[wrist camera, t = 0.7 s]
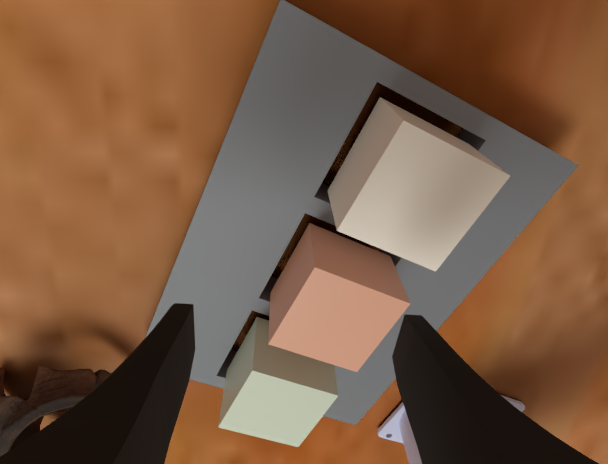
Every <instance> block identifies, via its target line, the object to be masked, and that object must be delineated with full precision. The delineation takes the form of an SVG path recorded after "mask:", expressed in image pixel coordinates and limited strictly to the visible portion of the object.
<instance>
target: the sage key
mask: <svg viewBox="0 0 608 464" xmlns="http://www.w3.org/2000/svg"><path fill="white" fill-rule="evenodd" d="M268 339H269V321H268V320H265V319H262V318H259V317H256V319H255V321H254V323H253V325H252V326H251V328H250V330H249V332H248V333H247V335H246V337H245V339H244V341H243V342H242V344H241V346H240V348H239V350H238V351H237V353H236V355H235V357H234V358H233V360H232V362H231V364H230V366H229V367H228V369H227V373H226V379H225V386H224V392H223V399H222V405H221V412H220V419H219V425H218V427H219V428H223V429H227V430H231V431H235V432H239V433H243V434H247V435H251V436H255V437H259V438H263V439H267V440H272V441H276V442H280V443H284V444H288V445H292V446H296V447H299V446H300V444H301V443H302V442H303V440H304V439H305V438H306V437H307V435H308V434H309V433H310V432H311V430H312V429H313V428H314V426H315V425H316V424H317V423H318V421H319V420H320V419H321V418H322V416H323V415H324V414H325V412H326V411H327V410H328V409H329V407H330V406H331V405H332V403H333V402H334V401H335V400H336V398H337V397H338V389H337V381H336V374H335V367H334V365H332V364H329V363H326V362H323V361H320V360H316V359H313V358H310V357H307V356H304V355H301V354H297V353H294V352H291V351H288V350H285V349H282V348H278V347H275V346H272V345H269V344H268Z"/></svg>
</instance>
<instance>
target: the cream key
mask: <svg viewBox="0 0 608 464" xmlns="http://www.w3.org/2000/svg"><path fill="white" fill-rule="evenodd" d="M509 177H510V175H509V174H508V173H506V172H505V171H504V170H502V169H501V168H500V167H498V166H497V165H496V164H494V163H493V162H492V161H491V160H489V159H488V158H487V157H485V156H484V155H483V154H481V153H480V152H479V151H478V150H476V149H475V148H474V147H472V146H471V145H470V144H468V143H466V142H464V141H462V140H460V139H459V138H457V137H455V136H453V135H451V134H449V133H447V132H445V131H443V130H442V129H440V128H438V127H436V126H434V125H432V124H430V123H428V122H426V121H424V120H423V119H421V118H419V117H417V116H415V115H413V114H411V113H409V112H407V111H406V110H404V109H402V108H400V107H398V106H396V105H394V104H392V103H390V102H389V101H387V100H385V99H383V98H381V97H380V98H379V100H378V101H377V103H376V105H375V107H374V108H373V110H372V112H371V114H370V116H369V117H368V119H367V121H366V123H365V125H364V126H363V128H362V130H361V132H360V133H359V135H358V137H357V139H356V141H355V142H354V144H353V146H352V148H351V150H350V151H349V153H348V155H347V157H346V158H345V160H344V162H343V164H342V166H341V167H340V169H339V171H338V173H337V175H336V176H335V178H334V180H333V182H332V183H331V185H330V187H329V189H328V196H329V200H330V204H331V208H332V213H333V217H334V221H335V225H336V230H337V231H338V232H341V233H343V234H346V235H348V236H351V237H353V238H355V239H358V240H360V241H363V242H365V243H368V244H370V245H372V246H375V247H377V248H380V249H382V250H384V251H387V252H389V253H392V254H394V255H397V256H399V257H401V258H404V259H406V260H409V261H411V262H413V263H416V264H418V265H421V266H423V267H426V268H428V269H430V270H433V271H435V272H436V271H437V269H438V268H439V267H440V266H441V264H442V263H443V262H444V260H445V259H446V258H447V257H448V255H449V254H450V253H451V252H452V250H453V249H454V248H455V246H456V245H457V244H458V243H459V241H460V240H461V239H462V237H463V236H464V235H465V234H466V232H467V231H468V230H469V229H470V227H471V226H472V225H473V223H474V222H475V221H476V220H477V218H478V217H479V216H480V214H481V213H482V212H483V211H484V209H485V208H486V207H487V206H488V204H489V203H490V202H491V200H492V199H493V198H494V197H495V195H496V194H497V193H498V192H499V190H500V189H501V188H502V186H503V185H504V184H505V183H506V181H507V180H508V179H509Z"/></svg>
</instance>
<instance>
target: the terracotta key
mask: <svg viewBox="0 0 608 464" xmlns="http://www.w3.org/2000/svg"><path fill="white" fill-rule="evenodd" d="M409 305H410V301H409V299H408V296H407V294H406V292H405V289H404V287H403V285H402V282H401V280H400V278H399V275H398V273H397V270H396V268H395V266H394V263H393V261H392V259H391V256H389V255H386V254H384V253H381V252H379V251H377V250H374V249H372V248H369V247H367V246H364V245H362V244H360V243H357V242H355V241H352V240H350V239H347V238H345V237H343V236H340V235H338V234H335V233H333V232H330V231H328V230H326V229H323V228H321V227H318V226H316V225H313V224H311V223H309V225H308V226H307V228H306V230H305V232H304V233H303V235H302V237H301V239H300V241H299V242H298V244H297V246H296V248H295V250H294V251H293V253H292V255H291V257H290V258H289V260H288V262H287V264H286V266H285V267H284V269H283V271H282V273H281V275H280V276H279V278H278V280H277V282H276V283H275V285H274V287H273V289H272V291H271V292H270V315H269V339H268V344H269V345H272V346H275V347H278V348H282V349H285V350H288V351H291V352H294V353H297V354H301V355H304V356H307V357H310V358H313V359H316V360H320V361H323V362H326V363H329V364H332V365H336V366H339V367H342V368H345V369H348V370H351V371H355V372H358V370H359V369H360V368H361V366H362V365H363V364H364V363H365V361H366V360H367V359H368V357H369V356H370V355H371V354H372V352H373V351H374V350H375V349H376V347H377V346H378V345H379V343H380V342H381V341H382V340H383V338H384V337H385V336H386V335H387V333H388V332H389V331H390V329H391V328H392V327H393V326H394V324H395V323H396V322H397V320H398V319H399V318H400V317H401V315H402V314H403V313H404V312H405V310H406V309H407V308H408V306H409Z"/></svg>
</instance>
